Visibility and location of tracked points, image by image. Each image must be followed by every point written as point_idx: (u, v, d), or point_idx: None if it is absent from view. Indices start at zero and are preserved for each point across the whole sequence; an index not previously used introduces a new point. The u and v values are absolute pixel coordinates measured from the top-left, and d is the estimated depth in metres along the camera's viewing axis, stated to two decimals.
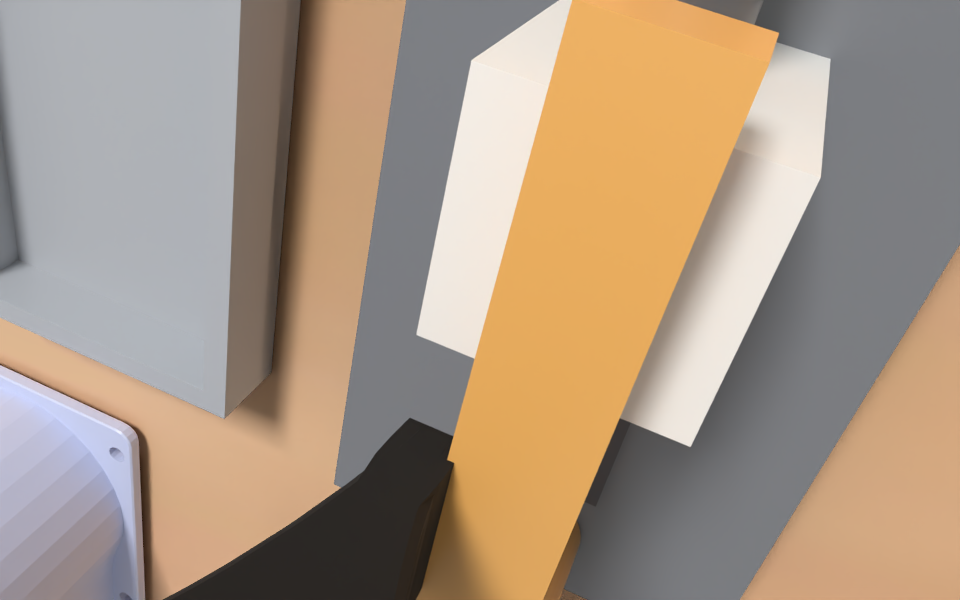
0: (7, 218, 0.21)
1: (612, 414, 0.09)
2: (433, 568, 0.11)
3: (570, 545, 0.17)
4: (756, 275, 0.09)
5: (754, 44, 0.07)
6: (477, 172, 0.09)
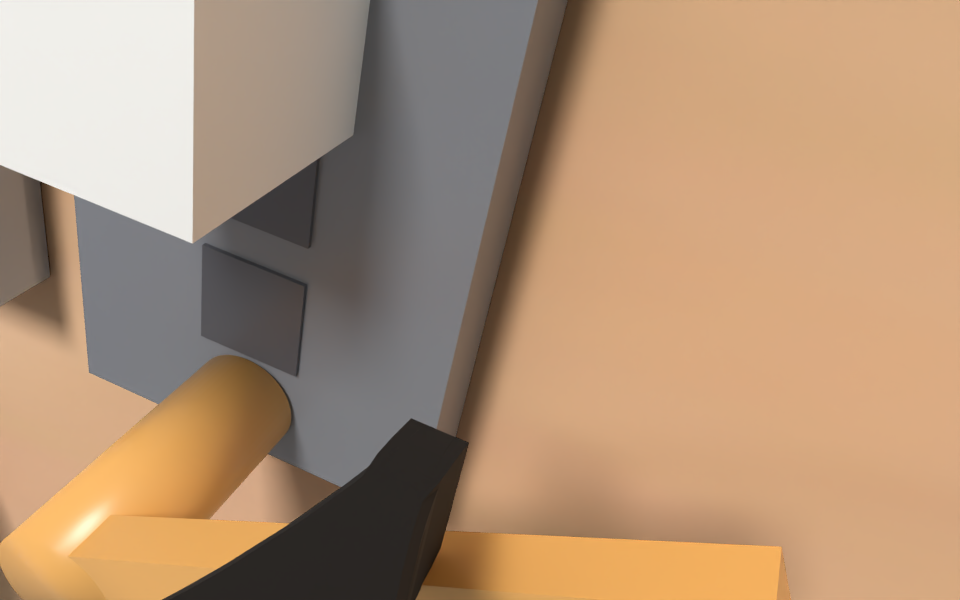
0: None
1: None
2: None
3: (269, 451, 0.19)
4: (183, 66, 0.10)
5: None
6: None
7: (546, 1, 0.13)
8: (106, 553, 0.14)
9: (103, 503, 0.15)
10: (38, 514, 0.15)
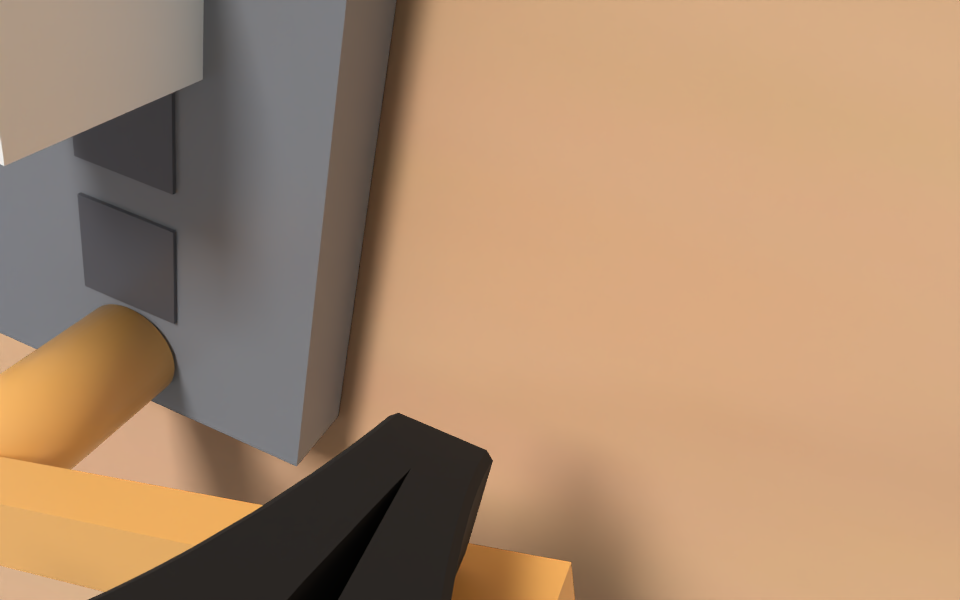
0: None
1: None
2: (109, 536, 0.13)
3: (148, 402, 0.19)
4: None
5: None
6: None
7: None
8: None
9: None
10: None
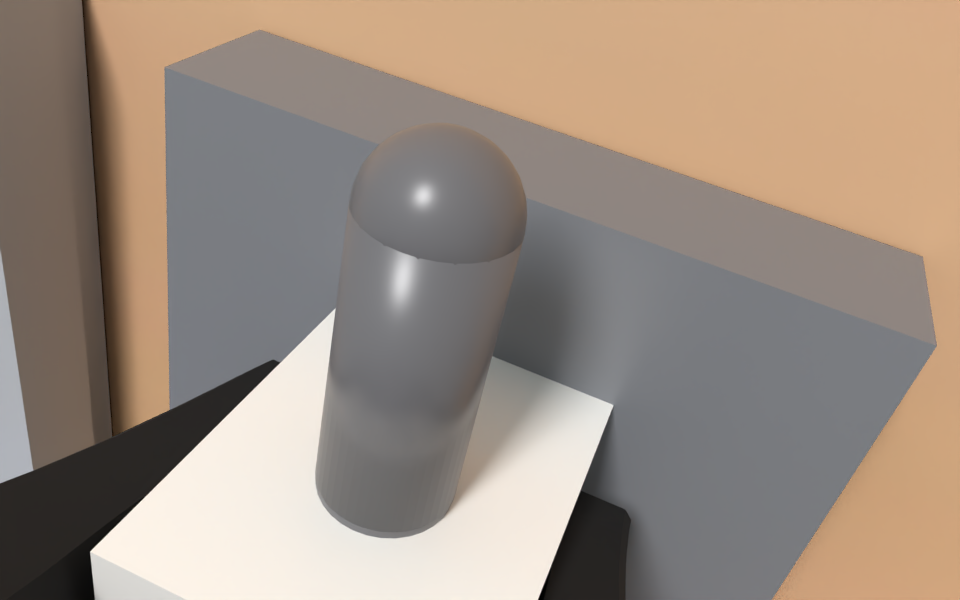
0: None
1: None
2: None
3: None
4: None
5: None
6: None
7: None
8: None
9: None
10: None
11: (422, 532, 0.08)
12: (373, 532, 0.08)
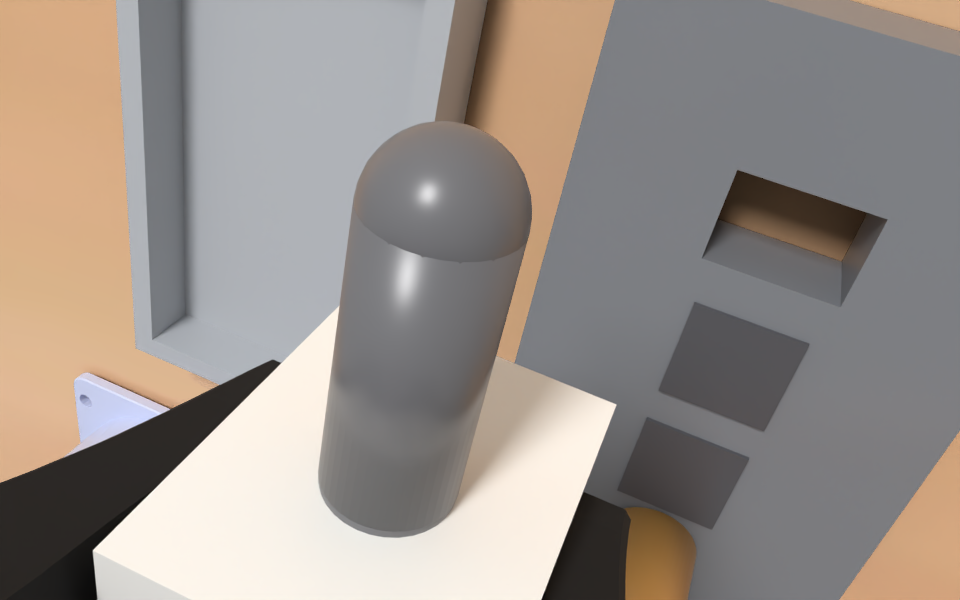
0: (181, 280, 0.25)
1: None
2: None
3: None
4: None
5: None
6: None
7: None
8: None
9: None
10: None
11: (425, 531, 0.08)
12: (376, 531, 0.08)
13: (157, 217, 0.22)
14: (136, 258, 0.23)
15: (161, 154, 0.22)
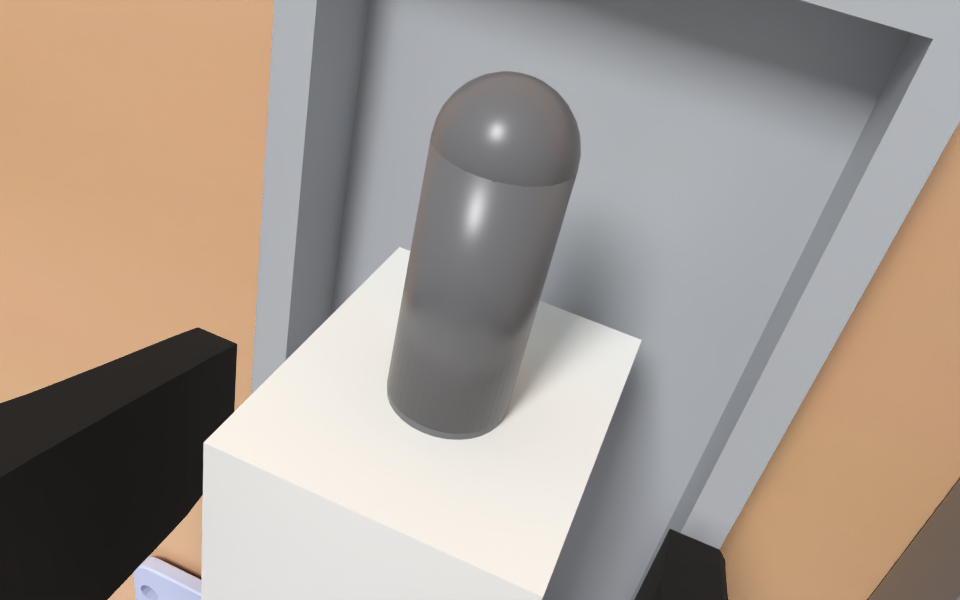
0: None
1: None
2: None
3: None
4: None
5: None
6: (228, 532, 0.09)
7: None
8: None
9: None
10: None
11: (482, 435, 0.09)
12: (441, 433, 0.09)
13: None
14: None
15: (307, 322, 0.14)
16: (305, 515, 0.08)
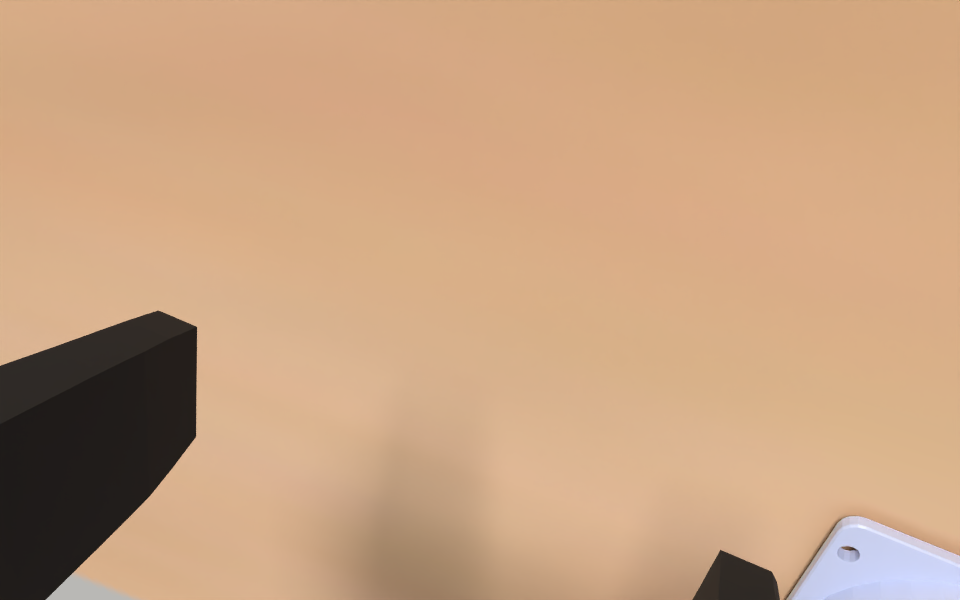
0: None
1: None
2: None
3: None
4: None
5: None
6: None
7: None
8: None
9: None
10: None
11: None
12: None
13: None
14: None
15: None
16: None
